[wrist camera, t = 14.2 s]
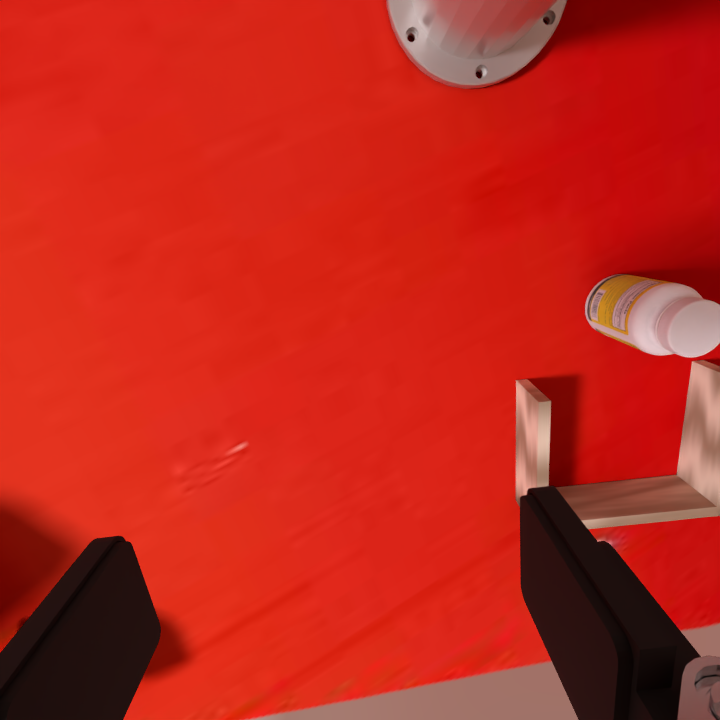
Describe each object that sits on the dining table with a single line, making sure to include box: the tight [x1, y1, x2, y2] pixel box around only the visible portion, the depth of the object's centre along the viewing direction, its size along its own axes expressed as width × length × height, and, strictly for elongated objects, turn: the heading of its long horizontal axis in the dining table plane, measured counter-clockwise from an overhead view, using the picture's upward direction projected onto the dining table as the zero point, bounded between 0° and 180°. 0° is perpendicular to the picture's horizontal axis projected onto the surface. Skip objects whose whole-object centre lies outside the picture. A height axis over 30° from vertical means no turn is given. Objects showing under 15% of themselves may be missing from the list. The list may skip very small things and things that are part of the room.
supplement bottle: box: [585, 274, 720, 357], centre depth 33 cm, size 5×5×10 cm
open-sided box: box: [516, 360, 720, 529], centre depth 39 cm, size 13×17×5 cm
